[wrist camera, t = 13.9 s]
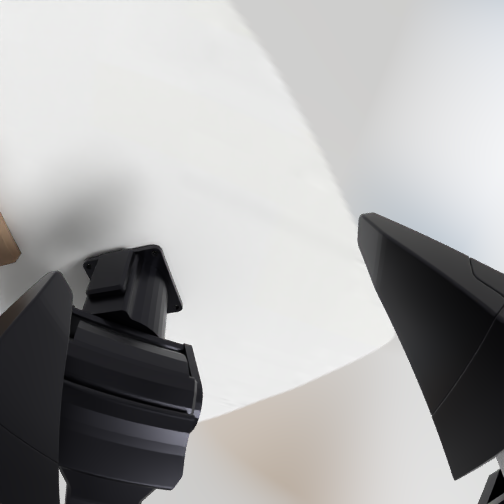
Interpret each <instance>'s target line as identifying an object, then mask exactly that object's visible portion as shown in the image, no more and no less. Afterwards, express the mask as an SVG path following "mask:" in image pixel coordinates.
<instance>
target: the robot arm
mask: <svg viewBox="0 0 504 504" xmlns="http://www.w3.org/2000/svg"><path fill="white" fill-rule="evenodd" d="M358 246H359V249H360V251H361V254H362V256H363V259H364V261H365V264H366V267H367V269H368V272H369V274H370V277H371V280H372V283H373V285H374V288H375V290H376V292H377V294H378V296H379V298H380V300H381V302H382V304H383V306H384V308H385V310H386V312H387V314H388V316H389V319H390V321H391V323H392V325H393V327H394V329H395V331H396V333H397V336H398V338H399V340H400V342H401V344H402V346H403V349H404V351H405V353H406V355H407V358H408V360H409V362H410V364H411V367H412V369H413V371H414V374H415V376H416V378H417V380H418V383H419V385H420V388H421V390H422V393H423V395H424V398H425V400H426V402H427V405H428V408H429V410H430V413H431V415H432V419H433V421H434V424H435V426H436V429H437V432H438V435H439V437H440V440H441V443H442V446H443V449H444V452H445V454H446V457H447V460H448V463H449V466H450V469H451V473H452V476H453V478H454V480H457V479H459V478H461V477H463V476H465V475H467V474H468V473H470V472H472V471H474V470H475V469H477V468H479V467H481V466H482V465H483V464H485V463H487V462H489V461H490V460H492V459H494V458H495V457H496V458H497V461H498V463H499V466H500V469H499V470H497V471H495V472H494V473H492V474H491V475H489V477H488V480H487V483H486V485H485V488H484V490H483V493H482V495H481V497H480V500H479V502H478V504H504V274H503V273H501V272H499V271H497V270H494V269H493V268H491V267H489V266H487V265H485V264H482V263H481V262H479V261H477V260H475V259H473V258H469V257H468V256H467V255H465V254H463V253H461V252H459V251H457V250H455V249H453V248H451V247H449V246H447V245H444V244H442V243H440V242H438V241H436V240H434V239H432V238H430V237H428V236H425V235H423V234H421V233H419V232H417V231H414V230H412V229H410V228H408V227H406V226H403V225H401V224H399V223H397V222H394V221H392V220H390V219H387V218H385V217H383V216H381V215H378V214H376V213H366V214H361V215H360V217H359V222H358ZM153 251H157V252H158V253H153ZM88 264H90V265H91V266H89V265H88ZM83 267H84V269H85V271H86V273H87V275H88V277H89V279H90V283H89V285H88V288H87V291H86V294H87V298H86V301H85V304H84V307H83V310H80V309H77V308H75V306H74V305H72V301H73V294H72V291H71V289H70V287H69V285H68V284H67V282H66V280H65V278H64V277H63V275H62V273H61V272H59V271H54V272H50V273H47V274H46V275H45V276H44V277H43V278H41V279H40V280H39V281H38V282H37V283H36V284H35V285H33V286H32V287H31V288H30V289H29V290H28V291H27V292H26V293H24V294H23V295H22V296H21V297H20V298H19V299H18V300H17V301H16V302H15V303H14V304H12V305H11V306H10V307H9V308H8V309H7V310H6V311H5V312H4V313H3V314H2V315H1V316H0V504H60V499H59V469H60V472H61V474H62V476H63V477H64V479H65V481H66V483H67V485H66V496H65V504H141V502H142V501H143V500H144V499H145V498H146V497H147V496H148V495H150V494H151V493H152V492H153V491H154V490H155V489H163V490H172V489H173V488H174V487H175V485H176V484H177V483H178V482H179V480H180V479H181V477H182V475H183V466H184V458H185V451H186V446H187V441H188V437H189V433H190V432H192V430H193V429H194V428H195V426H196V424H197V422H198V419H199V416H200V412H201V407H202V398H203V392H202V384H201V380H200V376H199V372H198V368H197V365H196V361H195V357H194V353H193V348H192V346H191V345H188V344H185V343H184V344H180V343H176V342H173V341H170V340H166V339H165V327H166V317H167V313H173V312H179V311H181V310H182V307H183V304H182V301H181V298H180V296H179V293H178V291H177V288H176V285H175V283H174V280H173V278H172V275H171V272H170V270H169V267H168V264H167V262H166V259H165V256H164V253H163V251H162V248H161V247H160V246H158V245H151V246H146V247H141V248H136V249H125V250H120V251H116V252H111V253H106V254H102V255H100V256H97V257H93V258H88V259H86V260H85V262H84V264H83ZM175 305H177V306H175Z"/></svg>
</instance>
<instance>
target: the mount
mask: <svg viewBox="0 0 504 504" xmlns="http://www.w3.org/2000/svg"><path fill="white" fill-rule="evenodd" d="M20 254H21V252H20V250H19V248H18V246H17V245H16V243H15V241H14V239H13V237H12V235H11V233H10V231H9V229H8V227H7V225H6V223H5V221H4V219H3V217H2V215H1V213H0V266H3V265H6V264H10V263H14V262H16V260H17V259H18V257H19V256H20Z"/></svg>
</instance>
